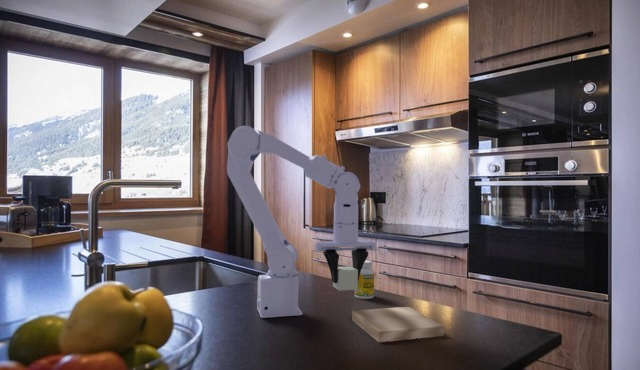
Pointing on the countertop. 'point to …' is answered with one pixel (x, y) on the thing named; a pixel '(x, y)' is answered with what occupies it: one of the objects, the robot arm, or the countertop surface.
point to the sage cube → (347, 279)
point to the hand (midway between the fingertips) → (345, 281)
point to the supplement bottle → (366, 282)
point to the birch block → (396, 324)
